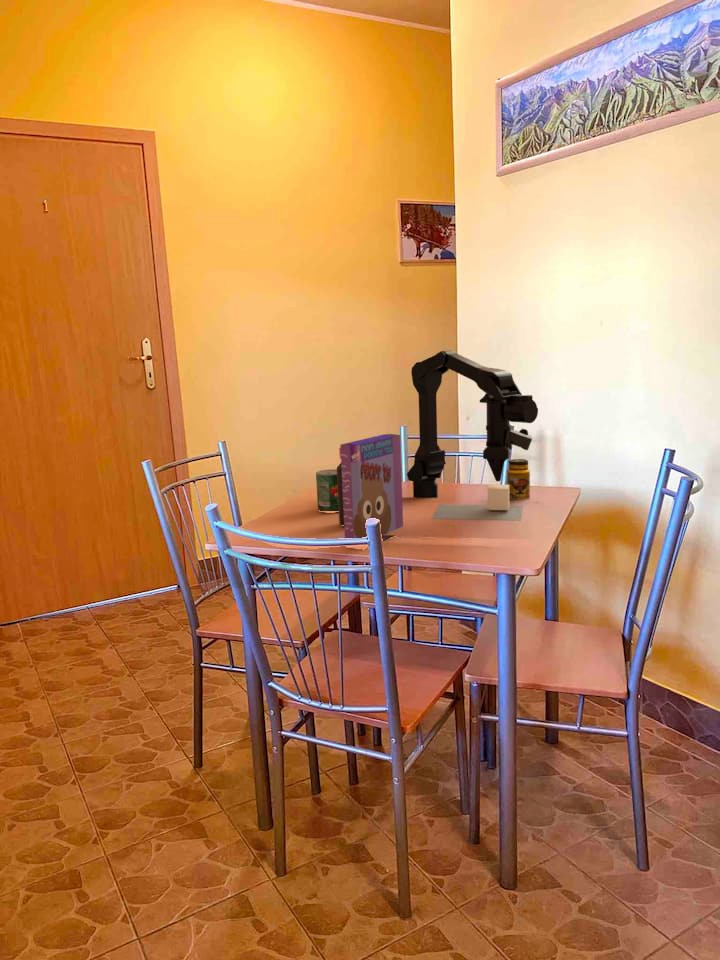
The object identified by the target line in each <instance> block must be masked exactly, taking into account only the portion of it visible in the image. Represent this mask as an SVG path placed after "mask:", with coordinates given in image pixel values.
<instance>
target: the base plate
mask: <svg viewBox="0 0 720 960" xmlns="http://www.w3.org/2000/svg"><path fill="white" fill-rule="evenodd" d="M523 508H524V506H523V505H519V504H518V505H517V504H515V505H513V504H512V505H511V504H509V510H503V511H495V510H488V504H451V503H450V504H449V503H447V504H446V503H445V504H443V503H442V504H439V506H438V507H437V508H436V510H435V511H434V513H433V515H432V517H431V520H463V521H464V520H465V521H466V520H467V521H468V520H469V521H472V520H473V521H515V522H516V521H520V522H521V521H522V516H523V515H522V514H523Z"/></svg>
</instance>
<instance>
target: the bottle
mask: <svg viewBox="0 0 720 960" xmlns="http://www.w3.org/2000/svg"><path fill="white" fill-rule="evenodd" d="M338 449H339V458H340V460H341V448H340V447H339V448H338ZM336 470H337V487H338V507H339V513H338V521H339V522H338V524H339V523H340V524H341V525H344V510H343V489H342V469H341V462H340V463H339V464H338V465H337V466H336ZM340 524H339V525H340Z"/></svg>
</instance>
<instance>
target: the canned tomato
mask: <svg viewBox="0 0 720 960" xmlns="http://www.w3.org/2000/svg"><path fill="white" fill-rule="evenodd" d="M315 477H316V479H315V481H316V497H317V499H316V500H317V511H318V510H320V511H339V507H338V487H337V469H323V470H318V471H316V472H315Z"/></svg>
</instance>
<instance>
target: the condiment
mask: <svg viewBox="0 0 720 960" xmlns="http://www.w3.org/2000/svg"><path fill="white" fill-rule="evenodd" d="M530 473H531V472H530V469H529V461H528V459H526V458H525V459H524V458H516V459H515V458H514V459H510V460H509V461H508V470H507V473H506V474H507V475H506V476H507V477H506V478H507V482H506V483H507V484H506V485H509V500H530V497H531V496H530V495H531V494H530V493H531V491H530V490H531V489H530V488H531V485H530V482H531V480H530V479H531V478H530V477H531V476H530V475H531V474H530ZM536 502H537V501H534V503H536Z"/></svg>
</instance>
